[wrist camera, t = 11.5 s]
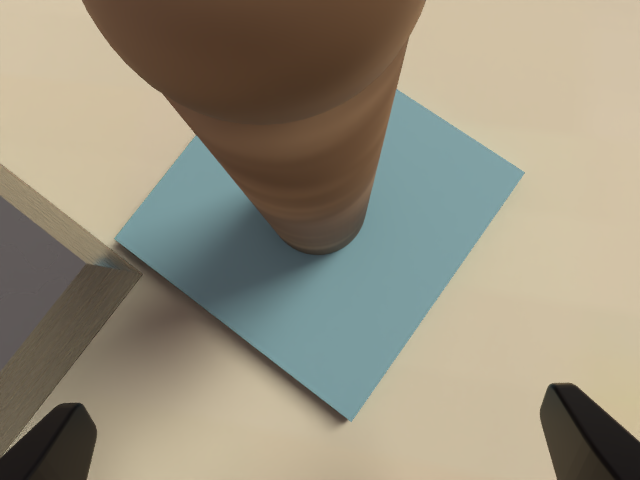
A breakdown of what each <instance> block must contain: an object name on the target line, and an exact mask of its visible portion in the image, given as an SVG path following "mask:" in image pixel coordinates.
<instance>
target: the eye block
mask: <svg viewBox="0 0 640 480" xmlns="http://www.w3.org/2000/svg"><path fill="white" fill-rule="evenodd" d="M141 276H142V273H140V272H139V271H138V270H137V269H135V268H134V267H133V266H131V265H130V264H129V263H128V262H126V261H125V260H124V259H122V258H121V257H120V256H119V255H117V254H116V253H115V252H113V251H112V250H111V249H110V248H108V247H107V246H106V245H104V244H103V243H102V242H101V241H99V240H98V239H97V238H95V237H94V236H93V235H92V234H90V233H89V232H88V231H86V230H85V229H84V228H83V227H81V226H80V225H79V224H77V223H76V222H75V221H74V220H72V219H71V218H70V217H68V216H67V215H66V214H65V213H63V212H62V211H61V210H59V209H58V208H57V207H56V206H54V205H53V204H52V203H50V202H49V201H48V200H47V199H45V198H44V197H43V196H41V195H40V194H39V193H38V192H36V191H35V190H34V189H32V188H31V187H30V186H29V185H27V184H26V183H25V182H23V181H22V180H21V179H19V178H18V177H17V176H16V175H14V174H13V173H12V172H10V171H9V170H8V169H7V168H5V167H4V166H3V165H1V164H0V457H1V456H2V455H3V453H4V452H5V451H6V449H7V448H8V447H9V446H10V444H11V443H12V442H13V440H14V439H15V438H16V437H17V435H18V434H19V433H20V431H21V430H22V429H23V428H24V426H25V425H26V424H27V422H28V421H29V420H30V419H31V417H32V416H33V415H34V413H35V412H36V411H37V410H38V408H39V407H40V406H41V404H42V403H43V402H44V401H45V399H46V398H47V397H48V395H49V394H50V393H51V392H52V390H53V389H54V388H55V386H56V385H57V384H58V382H59V381H60V380H61V379H62V377H63V376H64V375H65V373H66V372H67V371H68V370H69V368H70V367H71V366H72V364H73V363H74V362H75V361H76V359H77V358H78V357H79V355H80V354H81V353H82V352H83V350H84V349H85V348H86V346H87V345H88V344H89V343H90V341H91V340H92V339H93V337H94V336H95V335H96V334H97V332H98V331H99V330H100V328H101V327H102V326H103V325H104V323H105V322H106V321H107V319H108V318H109V317H110V316H111V314H112V313H113V312H114V310H115V309H116V308H117V307H118V305H119V304H120V303H121V301H122V300H123V299H124V297H125V296H126V295H127V294H128V292H129V291H130V290H131V288H132V287H133V286H134V285H135V283H136V282H137V281H138V279H139V278H140V277H141Z"/></svg>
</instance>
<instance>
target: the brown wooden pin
mask: <svg viewBox="0 0 640 480" xmlns="http://www.w3.org/2000/svg"><path fill="white" fill-rule="evenodd" d="M82 1H83V3H84V5H85V7H86V10H87V12H88V13H89V15H90V16H91V18H92V19H93V21H94V23H95V24H96V26H97V27H98V29H99V30H100V32H101V33H102V35H103V36H104V37H105V39H106V40H107V41H108V43H109V44H110V46H111V47H112V48H113V49H114V50H115V51H116V53H117V54H118V55H119V56H120V57H121V58H122V59H123V61H124V62H125V63H126V64H127V65H128V66H129V67H130V68H132V69H133V70H134V71H135V72H136V73H137V74H138V75H139V76H140V77H141V78H143V79H144V80H145V81H146V82H147V83H148V84H149V85H151V86H152V87H153V88H155V89H156V90H158V91H159V92H161V93H162V94H163V95H164V96H165V97H166V99H167V100H168V101H169V102H170V104H171V105H172V106H173V107H174V108H175V110H176V111H177V112H178V113H179V115H180V116H181V117H182V118H183V119H184V121H185V122H186V123H187V124H188V126H189V127H190V128H191V129H192V130H193V132H194V133H195V134H196V135H197V136H198V138H199V139H200V140H201V141H202V143H203V144H204V145H205V146H206V147H207V149H208V150H209V151H210V152H211V154H212V155H213V156H214V157H215V158H216V160H217V161H218V162H219V163H220V165H221V166H222V167H223V168H224V169H225V171H226V172H227V173H228V174H229V175H230V177H231V178H232V179H233V180H234V182H235V183H236V184H237V185H238V186H239V188H240V189H241V190H242V191H243V193H244V194H245V195H246V196H247V197H248V199H249V200H250V201H251V202H252V204H253V205H254V206H255V207H256V208H257V210H258V211H259V212H260V213H261V215H262V216H263V217H264V218H265V219H266V221H267V222H268V223H269V224H270V225H271V227H272V228H273V229H274V230H275V232H276V233H277V234H278V235H279V236H280V238H281V239H282V240H283V241H284V242H285V243H286V244H287V245H289V246H290V247H292V248H293V249H295V250H297V251H299V252H302V253H306V254H311V255H324V254H329V253H333V252H336V251H338V250H340V249H342V248H344V247H345V246H347V245H348V244H349V243H350V242H351V241H352V240H353V239H354V238H355V237H356V236H357V234H358V233H359V231H360V230H361V228H362V226H363V223H364V220H365V216H366V212H367V208H368V204H369V199H370V195H371V191H372V187H373V183H374V179H375V175H376V171H377V167H378V162H379V158H380V154H381V150H382V146H383V142H384V138H385V134H386V130H387V126H388V121H389V117H390V113H391V109H392V105H393V101H394V97H395V93H396V89H397V84H398V80H399V76H400V72H401V68H402V64H403V60H404V56H405V52H406V48H407V43H408V39H409V36H410V34H411V32H412V30H413V29H414V27H415V25H416V23H417V21H418V19H419V17H420V15H421V12H422V9H423V7H424V4H425V1H426V0H82Z"/></svg>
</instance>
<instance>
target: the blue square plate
mask: <svg viewBox="0 0 640 480" xmlns="http://www.w3.org/2000/svg"><path fill="white" fill-rule="evenodd" d="M524 173H525V172H523V171H522V170H520V169H519V168H517V167H516V166H514V165H513V164H511V163H510V162H508V161H506V160H505V159H503V158H502V157H500V156H499V155H497V154H496V153H494V152H493V151H491V150H489V149H488V148H486V147H485V146H483V145H482V144H480V143H479V142H477V141H476V140H474V139H473V138H471V137H469V136H468V135H466V134H465V133H463V132H462V131H460V130H459V129H457V128H456V127H454V126H453V125H451V124H449V123H448V122H446V121H445V120H443V119H442V118H440V117H439V116H437V115H436V114H434V113H432V112H431V111H429V110H428V109H426V108H425V107H423V106H422V105H420V104H419V103H417V102H416V101H414V100H412V99H411V98H409V97H408V96H406V95H405V94H403V93H402V92H400V91H399V90H397V89H396V93H395V97H394V101H393V105H392V109H391V113H390V117H389V121H388V126H387V130H386V134H385V138H384V142H383V146H382V150H381V154H380V158H379V162H378V167H377V171H376V175H375V179H374V183H373V187H372V191H371V195H370V199H369V204H368V208H367V212H366V216H365V220H364V223H363V226H362V228H361V230H360V231H359V233H358V234H357V236H356V237H355V238H354V239H353V240H352V241H351V242H350V243H349V244H348V245H347V246H345V247H344V248H342V249H340V250H338V251H336V252H333V253H329V254H324V255H311V254H306V253H302V252H299V251H297V250H295V249H293V248H292V247H290V246H289V245H287V244H286V243H285V242H284V241H283V240H282V239H281V238H280V236H279V235H278V234H277V233H276V232H275V230H274V229H273V228H272V227H271V225H270V224H269V223H268V222H267V221H266V219H265V218H264V217H263V216H262V215H261V213H260V212H259V211H258V210H257V208H256V207H255V206H254V205H253V204H252V202H251V201H250V200H249V199H248V197H247V196H246V195H245V194H244V193H243V191H242V190H241V189H240V188H239V186H238V185H237V184H236V183H235V182H234V180H233V179H232V178H231V177H230V175H229V174H228V173H227V172H226V171H225V169H224V168H223V167H222V166H221V165H220V163H219V162H218V161H217V160H216V158H215V157H214V156H213V155H212V154H211V152H210V151H209V150H208V149H207V147H206V146H205V145H204V144H203V143H202V141H201V140H200V139H199V138H198V136H197V135H196V136H195V137H194V138H193V140H192V141H191V142H190V144H189V145H188V146H187V147H186V149H185V150H184V151H183V152H182V154H181V155H180V156H179V157H178V159H177V160H176V161H175V163H174V164H173V165H172V166H171V168H170V169H169V170H168V171H167V173H166V174H165V175H164V176H163V178H162V179H161V180H160V181H159V183H158V184H157V185H156V187H155V188H154V189H153V190H152V192H151V193H150V194H149V195H148V197H147V198H146V199H145V200H144V202H143V203H142V204H141V205H140V207H139V208H138V209H137V211H136V212H135V213H134V214H133V216H132V217H131V218H130V219H129V221H128V222H127V223H126V224H125V226H124V227H123V228H122V230H121V231H120V232H119V233H118V235H117V236H116V237H115V238H114V239H115V240H116V241H118V242H119V243H120V244H122V245H123V246H124V247H125V248H127V249H128V250H129V251H131V252H132V253H133V254H134V255H136V256H137V257H138V258H140V259H141V260H142V261H144V262H145V263H146V264H147V265H149V266H150V267H151V268H153V269H154V270H155V271H156V272H158V273H159V274H160V275H162V276H163V277H164V278H166V279H167V280H168V281H169V282H171V283H172V284H173V285H175V286H176V287H177V288H178V289H180V290H181V291H182V292H184V293H185V294H186V295H188V296H189V297H190V298H191V299H193V300H194V301H195V302H197V303H198V304H199V305H201V306H202V307H203V308H204V309H206V310H207V311H208V312H210V313H211V314H212V315H213V316H215V317H216V318H217V319H219V320H220V321H221V322H223V323H224V324H225V325H226V326H228V327H229V328H230V329H232V330H233V331H234V332H235V333H237V334H238V335H239V336H241V337H242V338H243V339H245V340H246V341H247V342H248V343H250V344H251V345H252V346H254V347H255V348H256V349H257V350H259V351H260V352H261V353H263V354H264V355H265V356H267V357H268V358H269V359H270V360H272V361H273V362H274V363H276V364H277V365H278V366H280V367H281V368H282V369H283V370H285V371H286V372H287V373H289V374H290V375H291V376H292V377H294V378H295V379H296V380H298V381H299V382H300V383H302V384H303V385H304V386H305V387H307V388H308V389H309V390H311V391H312V392H313V393H314V394H316V395H317V396H318V397H320V398H321V399H322V400H324V401H325V402H326V403H327V404H329V405H330V406H331V407H333V408H334V409H335V410H336V411H338V412H339V413H340V414H342V415H343V416H344V417H346V418H347V419H348V420H349V421H351V422H352V420H353V419H354V418H355V416H356V415H357V413H358V412H359V410H360V409H361V407H362V406H363V405H364V403H365V402H366V400H367V399H368V397H369V396H370V395H371V393H372V392H373V390H374V389H375V387H376V386H377V385H378V383H379V382H380V380H381V379H382V377H383V376H384V374H385V373H386V372H387V370H388V369H389V367H390V366H391V364H392V363H393V362H394V360H395V359H396V357H397V356H398V354H399V353H400V351H401V350H402V349H403V347H404V346H405V344H406V343H407V341H408V340H409V339H410V337H411V336H412V334H413V333H414V331H415V330H416V328H417V327H418V326H419V324H420V323H421V321H422V320H423V318H424V317H425V316H426V314H427V313H428V311H429V310H430V308H431V307H432V306H433V304H434V303H435V301H436V300H437V298H438V297H439V295H440V294H441V293H442V291H443V290H444V288H445V287H446V285H447V284H448V283H449V281H450V280H451V278H452V277H453V275H454V274H455V272H456V271H457V270H458V268H459V267H460V265H461V264H462V262H463V261H464V260H465V258H466V257H467V255H468V254H469V252H470V251H471V249H472V248H473V247H474V245H475V244H476V242H477V241H478V239H479V238H480V237H481V235H482V234H483V232H484V231H485V229H486V228H487V227H488V225H489V224H490V222H491V221H492V219H493V218H494V216H495V215H496V214H497V212H498V211H499V209H500V208H501V206H502V205H503V204H504V202H505V201H506V199H507V198H508V196H509V195H510V193H511V192H512V191H513V189H514V188H515V186H516V185H517V183H518V182H519V181H520V179H521V178H522V176H523V175H524Z"/></svg>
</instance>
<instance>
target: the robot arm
mask: <svg viewBox="0 0 640 480" xmlns="http://www.w3.org/2000/svg"><path fill="white" fill-rule="evenodd" d="M540 420H541V424H542V427H543V431H544V435H545V438H546V442H547V445H548V449H549V452H550V456H551V459H552V463H553V467H554V470H555V474H556V477H557V480H640V442H639V441H638V440H637V439H636V438H635V437H634V436H633V435H632V434H630V433H629V432H628V431H627V430H626V429H625V428H624V427H622V426H621V425H620V424H619V423H618V422H617V421H616V420H615V419H613V418H612V417H611V416H610V415H609V414H608V413H607V412H606V411H604V410H603V409H602V408H601V407H600V406H599V405H598V404H596V403H595V402H594V401H593V400H592V399H591V398H590V397H589V396H587V395H586V394H585V393H584V392H583V391H582V390H581V389H579V388H578V387H577V386H576V385H574V384H572V383H552V384H550V385H549V386H548V388H547V390H546V393H545V396H544V399H543V402H542V405H541V408H540ZM96 438H97V429H96V426H95V424H94V422H93V420H92V419H91V417H90V415H89V413H88V412H87V410H86V408H85V407H84V405H83V404H81V403H63V404H60V405H58V406H56V407H55V408H54V409H53V410H52V411H51V412H49V413H48V414H47V415H46V416H45V417H44V418H43V419H42V420H41V421H40V422H39V423H38V424H37V425H35V426H34V427H33V428H32V429H31V430H30V431H29V432H28V433H27V434H26V435H25V436H24V437H23V438H22V439H20V440H19V441H18V442H17V443H16V444H15V445H14V446H13V447H12V448H11V449H10V450H9V451H8V452H7V453H5V454H4V455H3V456H2V457H1V458H0V480H87V476H88V472H89V468H90V464H91V459H92V455H93V451H94V447H95V442H96Z"/></svg>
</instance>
